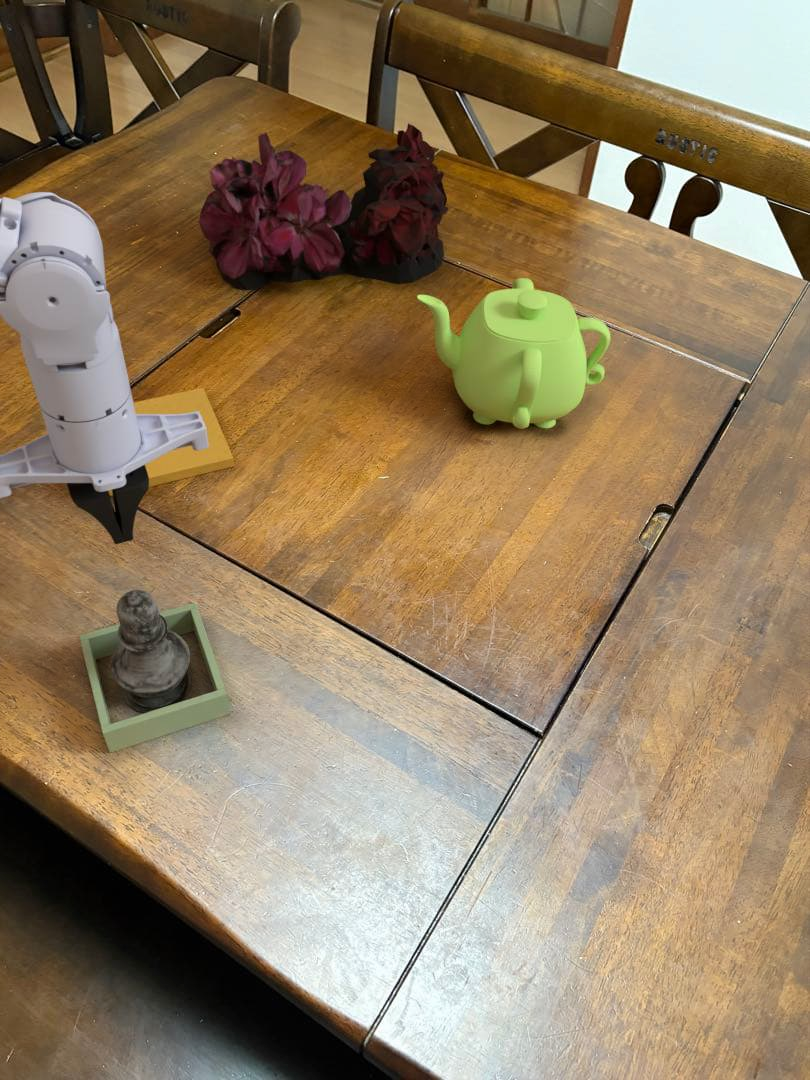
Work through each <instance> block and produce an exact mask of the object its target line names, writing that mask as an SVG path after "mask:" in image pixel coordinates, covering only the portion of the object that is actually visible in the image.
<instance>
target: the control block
mask: <svg viewBox="0 0 810 1080" xmlns="http://www.w3.org/2000/svg"><path fill="white" fill-rule="evenodd" d="M133 403H134V407H135V412H136V414H184V413H191V412H196V411H199V412H200V414H201V417H202V419H203V421H204V424H205V426H206V429H207V436H208V443H209V448H206V449H202V450H198V451H196V450H194V449H193V447H192V446H188V447H184V448H180V449H175V450H172V451H170V452H168V453H166V454H164V455H162V456H160V457H158V458H156V459H154V460H153V461H151V462H149V463H147V464H145V467H146V470H147V473H148V476H149V487H148V488H151V487H155V486H159V485H162V484H163V485H164V484H168V483H170V482H171V483H172V482H175V481H179V480H183V479H187V478H192V477H195V476H200V475H203V474H210V473H212V472H217V471H221V470H224V469H229V468H230V469H231V468H234V467H235V459H234V456H233V453H232V451H231V448H230V446H229V443H228V441H227V439H226V437H225V435H224V434H225V433H224V432H223V430H222V428H221V425H220V422H219V420H218V418H217V416H216V414H215V413H216V412H214V409H213V406H212V404H211V402H210V400H209V396H208V394H207V392H206V390H205V388H204V387H200V388H195V389H190V390H185V391H181V392H177V393H172V394H166V395H161V396H157V397H151V398H148V399H143V400H139V401H133ZM108 492H109V495H110V497H113V494H112V490H108Z"/></svg>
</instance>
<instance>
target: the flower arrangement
mask: <svg viewBox="0 0 810 1080" xmlns="http://www.w3.org/2000/svg"><path fill="white" fill-rule="evenodd" d="M396 143H397V147H395V148H393V149H392V148H376V149H373V150H372V151H370V152H368V158H369V159H371V160H375V161H372V163H370V164H369V167H368V168H367V169H365V170H364V171H363V172H362V176H363V182H364V187H362V188H360V189H358V190H357V191H356V192H354V194H353V197H352V199H351V198H350V196H349V195H348V194H347V193H346V191H345V190H344V189H339V190H338V191H336V192H334V193H333V194H331V195H330V196H329V192H330V189H329V188H326V189H324V187H323V186H321V185H319V184H318V183H315V184H311V183H304V184H302V183H301V182H302V181H303V180H304V179H305V177H306V176H307V161H306V160H305V159H304V158H303V157H302V156H301V155H299V154H297V153H295V152H294V151H293V150H282V151H279V152H276V148H274V146H273V145H271V140H270V137H269V135H268V132H265V133H260V135H258V152H259V157H260V163H259V162H258V161H256V160H255V159H254V158H253V159H252V162H249V161H247V160H245V159H236V158H235V156H233V155H232V156H231V159H230V158H224V159H223V160H222V161H221V162H220V163H216V164H215V165H214V166H213V167H211V168H210V170H209V176H210V177H209V178H210V183H211V187H212V188H213V189H214V190H213V191H211V192H210V193H209V194H208V195H207V196H206V198H205V201H204V203H203V205H202V207H201V210H200V214H199V218H198V223H199V228H200V230H201V232H202V234H203V237H204V238H206V239H207V241H209V246H208V252H209V254H211V256H212V257H213V258H214V259H215V263H216V267H217V270H218V272H219V274H220V276H221V279H222V280H223V281H224V282H225V283H227V284H229V286H231V287H233V288H234V289H236V290H244V291H251V290H257V289H258V290H259V289H263V288H264V287H266V286H267V285H269V284H271V283H273V282H281V283H282V282H283V283H284V282H285V283H294V282H299V281H305V280H310V279H312V280H313V279H314V280H315V279H316V280H323V279H325V278H328V277H332V276H338V275H347V274H348V275H350V276H356V277H362V278H368V279H374V280H379V281H380V280H381V281H384V282H387V283H388V282H389V283H393V284H398V285H402V284H408V283H414V282H416V281H419V280H420V279H422V278H425V277H426V276H428V275H430V274H432V273H434V272H436V271H437V270H438V269H439V268H440V267H441V265H443V261H444V257H445V249H444V241H443V240H442V239H440V237H439V229H438V225H440V224H441V221H442V219H443V215H445V214H447V212H448V210H449V209H450V207H448V206H446V205H447V202H448V197H447V194H446V191H445V188H444V183H443V182H442V180H443V178H444V175H445V173H444V171H442V170H441V171H440V172H439V171H438V169H439V168H438V167H437V165H436V164H435V163H433V162H434V161H435V160H436V159H435V155H436V153H435V150H434V148H433V147H432V146H431V145H430V144H429V143H428V142H427V141H426V140H424V138H423V132H422V131H421V130H420V129H418V127H416V126H414V125H413V124H410V123H407V127H406V130H405V131H404V129H401V130H398V131H397V137H396ZM328 196H329V197H328Z"/></svg>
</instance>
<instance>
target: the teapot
mask: <svg viewBox="0 0 810 1080" xmlns="http://www.w3.org/2000/svg"><path fill="white" fill-rule="evenodd" d="M416 298H417V300H418V301H420V302H421V303H422V304H424V305H425V307H427V308H428V309H429V311H430V312H431V314H432V316H433V317H432V318H433V322H434V345H435V350H436V353H437V355H438V357H439V359H440V360H441V362H442V363H443V364H444V366H446V367H448V369H451V370H452V379H453V384H454V387H455V389H456V392H457V394H458V396H459V397H460V399H461V401H462V402H463V403H464V404H465V406H466V407H468V409H469V410H471V412H473V413H472V417H473V419H474V421H475V422H477V423H479V424H481V425H491V424H494V423H495V422H496V421H500V422H505V423H510V424H512V425H513V426H514V427H515V428H517V429H519V430H523V429H524V430H525V429H526V428H529V426H530V424H533V425H535V427H538V428H541V429H550V428H553V427H554V426H555V425H556V424H557V421H556V420H557V419H561V418H562V417H564V416H566V415H567V414H569V413H570V412H572V411H573V410H575V409H576V408H577V407H578V406H579V405H580V403H581V401H582V399H583V398H584V394H585V390H586V386H595V385H599V384H600V383H601V382H602V381H603V380H604V377H605V368H604V367H603V365H602V364H600V363H599V361H601V359H602V358H603V356H604V355H605V353H606V352H607V350H608V348H609V345H610V342H611V331H610V329H609V327H608V326H607V325H606V323H604V322H603V321H602V320H600V319H597V318H595V317H590V316H588V317H587V316H586V317H577V314H576V311H575V308H574V306H573V305H572V303H571V302H570V301H569V300H568V299H567V298H565V297H563V296H562V295H559V294H556V293H553V292H549V291H545V290H540V289H535V286H534V281H532V279H530V278H527V277H519V278H516V279H515V280H514V281H513V283H512V287H511V288H505V289H498V290H494V291H491V292H489V293H488V294H486V295H485V296H484V297H483V298H482V299H481V300H480V301H479V303H478V304H477V305H476V307H475V308H474V309H473V311H472V312H471V313H470V314H469V316H468V317H467V319H466V320H465V322H464V324H463V326H462V329H461V330H460V333H459V335H457V334H455V333H454V332H453V331H452V329H451V324H450V323H451V322H450V313H449V309H448V307H447V305H446V303H444V301H442V300H440V299H439V298H437V297H435V296H432V295H428V294H417V295H416ZM582 331H592V332H596V333H598V334H599V335H600V339H599V341H598V343H597V345H596V347H595V348H594V349H593V351H592V352H591V353H590V355H589V356H588V357H587V350H586V345H585V341H584V336H583V332H582ZM591 372H593V373H591ZM594 372H595V373H594Z"/></svg>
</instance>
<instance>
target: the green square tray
mask: <svg viewBox="0 0 810 1080" xmlns="http://www.w3.org/2000/svg"><path fill="white" fill-rule="evenodd" d="M159 614H160V615H161V616H163V617H164V619H165V620H166V622H167V625H168V630H169V631H172V632H175V633H176V634H178V635H179V636H181V635H185V634H189V633H192V632H194V634H195V638H196V640H197V643H198V647H199V649H200V652H201V655H202V658H203V661H204V664H205V667H206V671H207V673H208V676H209V679H210V682H211V685H212V688H213V691H211V692H208V693H204V694H202V695H198V696H195V697H192V698H188V699H185V700H184V701H182V702H179V703H175V704H172V705H169V706H166V707H163V708H160V709H156V710H153V711H150V712H147V713H141V714H137V715H134V716H131V717H129V718H125V719H121V720H118V721H116V722H112V721H111V716H110V712H109V708H108V704H107V699H106V696H105V692H104V689H103V683H102V679H101V677H100V676H101V675H100V672H99V671H100V670H99V668H98V663H97V660H100V659H103V658H106V657H109V656H113V653H114V651H115V649H116V648H117V647H118V645H119V644H120V641H119V638H118V629H119V626H120V623H118V624H114V625H110V626H107V627H103V628H100V629H96V630H93V631H89V632H86V633H83V634H79V636H78V637H79V641H80V645H81V649H82V653H83V657H84V658H83V659H84V662H85V667H86V670H87V675H88V679H89V683H90V686H91V691H92V694H93V695H92V696H93V699H94V700H93V701H94V703H95V707H96V712H97V716H98V722H99V724H100V730H101V733H102V736H103V738H104V741H105V744H106V746H107V750H108V752H109V753H110V754H112V753H114V752H117V751H120V750H121V751H122V750H124V749H127V748H130V747H132V746H136V745H140V744H142V743H145V742H148V741H151V740H154V739H158V738H160V737H163V736H167V735H170V734H173V733H177V732H180V731H182V730H185V729H188V728H192V727H195V726H198V725H200V724H203V723H207V722H210V721H213V720H217V719H219V718H223V717H225V716H228V715H230V714H231V709H230V704H229V698H228V692H227V689H226V686H225V684H224V681H223V678H222V676H221V675H222V674H221V673H220V669H219V666H218V663H217V660H216V658H215V657H216V656H215V655H214V652H213V649H212V646H211V642H210V640H209V637H208V634H207V632H206V628H205V625H204V622H203V619H202V617H201V613H200V610H199V608H198V606H197V602H192V603H188V604H184V605H180V606H177V607H174V608H170V609H166V610H163V611H159Z"/></svg>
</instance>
